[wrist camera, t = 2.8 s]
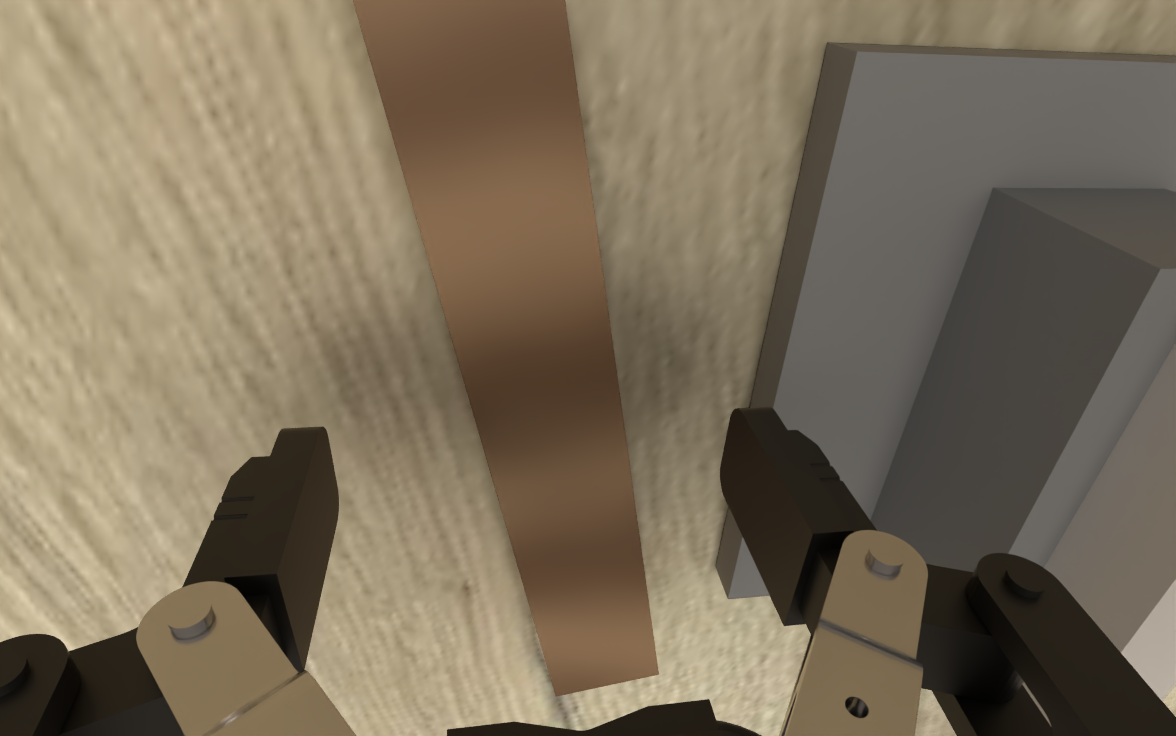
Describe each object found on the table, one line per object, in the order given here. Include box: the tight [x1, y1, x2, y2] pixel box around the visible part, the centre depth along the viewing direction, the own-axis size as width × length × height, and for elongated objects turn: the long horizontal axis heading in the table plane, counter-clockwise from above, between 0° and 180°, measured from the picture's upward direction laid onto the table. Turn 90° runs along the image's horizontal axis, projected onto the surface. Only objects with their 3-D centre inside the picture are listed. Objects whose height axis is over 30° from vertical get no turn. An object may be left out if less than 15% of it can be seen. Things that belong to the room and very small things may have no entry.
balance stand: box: [716, 43, 1176, 726], centre depth 18 cm, size 14×18×9 cm
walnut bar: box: [353, 0, 659, 696], centre depth 18 cm, size 26×4×4 cm, turn 8°
